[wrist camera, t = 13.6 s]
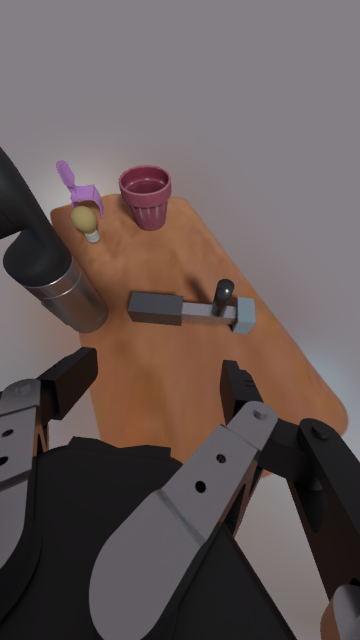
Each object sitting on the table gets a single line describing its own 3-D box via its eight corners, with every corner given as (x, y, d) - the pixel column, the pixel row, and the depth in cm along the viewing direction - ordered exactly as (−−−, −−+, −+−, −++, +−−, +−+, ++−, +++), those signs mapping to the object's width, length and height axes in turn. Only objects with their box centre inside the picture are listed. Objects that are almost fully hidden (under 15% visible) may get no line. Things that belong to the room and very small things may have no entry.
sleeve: (132, 321, 46) (127, 310, 42) (137, 303, 49) (132, 292, 44) (181, 325, 46) (180, 315, 41) (183, 307, 48) (183, 296, 44)
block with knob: (162, 318, 46) (155, 287, 35) (164, 307, 47) (158, 273, 36) (241, 325, 44) (260, 295, 34) (241, 313, 46) (258, 281, 35)
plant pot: (179, 229, 61) (178, 186, 50) (136, 241, 59) (125, 199, 48) (164, 204, 68) (160, 160, 56) (125, 214, 65) (112, 170, 54)
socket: (232, 332, 45) (238, 321, 40) (232, 310, 47) (237, 297, 43) (248, 333, 44) (255, 323, 40) (246, 311, 47) (253, 298, 42)
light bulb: (79, 243, 59) (61, 212, 50) (92, 230, 62) (77, 198, 53) (96, 249, 58) (80, 218, 49) (109, 236, 60) (96, 204, 52)
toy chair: (103, 221, 64) (82, 168, 51) (76, 223, 64) (48, 171, 50) (105, 205, 68) (85, 153, 54) (79, 208, 67) (53, 155, 54)
